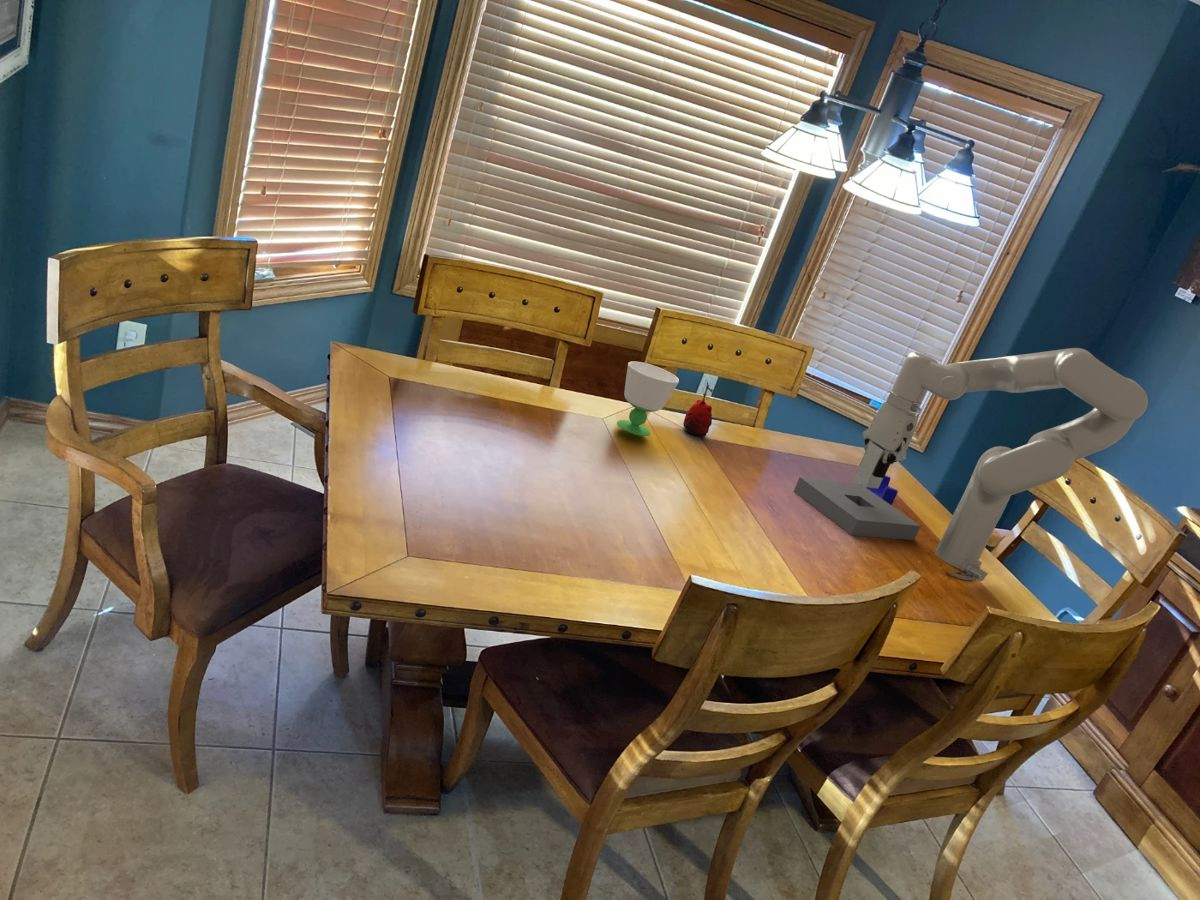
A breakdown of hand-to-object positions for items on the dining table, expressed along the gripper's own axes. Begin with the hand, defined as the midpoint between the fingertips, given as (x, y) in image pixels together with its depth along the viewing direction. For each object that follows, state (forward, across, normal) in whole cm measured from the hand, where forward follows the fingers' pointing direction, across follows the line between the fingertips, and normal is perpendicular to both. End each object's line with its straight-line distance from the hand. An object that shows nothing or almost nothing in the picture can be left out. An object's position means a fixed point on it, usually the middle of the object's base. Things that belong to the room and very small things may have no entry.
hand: (871, 471), depth 230 cm
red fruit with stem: (+13, +44, +21) cm, 50 cm away
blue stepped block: (+12, +10, -20) cm, 25 cm away
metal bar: (+3, 0, 0) cm, 3 cm away
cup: (+13, +40, +43) cm, 60 cm away
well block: (+12, 0, 0) cm, 12 cm away
